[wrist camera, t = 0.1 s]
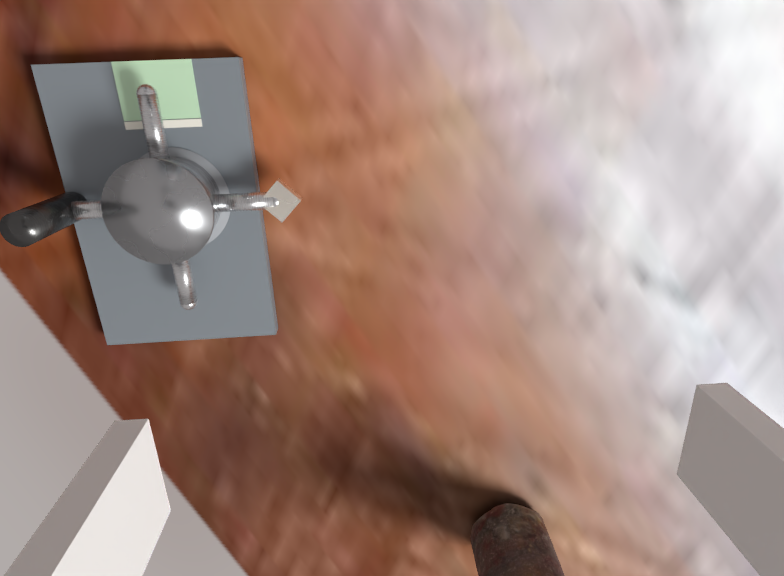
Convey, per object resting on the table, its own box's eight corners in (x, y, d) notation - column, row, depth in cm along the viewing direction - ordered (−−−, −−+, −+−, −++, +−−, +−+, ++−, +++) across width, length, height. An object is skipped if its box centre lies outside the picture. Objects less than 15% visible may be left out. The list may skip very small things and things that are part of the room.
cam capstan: (28, 88, 33) (-47, 90, 27) (292, 78, 34) (278, 77, 28) (88, 305, 39) (38, 347, 32) (314, 292, 39) (306, 331, 33)
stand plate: (41, 65, 34) (29, 64, 32) (242, 57, 34) (238, 57, 33) (114, 338, 41) (106, 345, 40) (278, 327, 42) (275, 335, 40)
